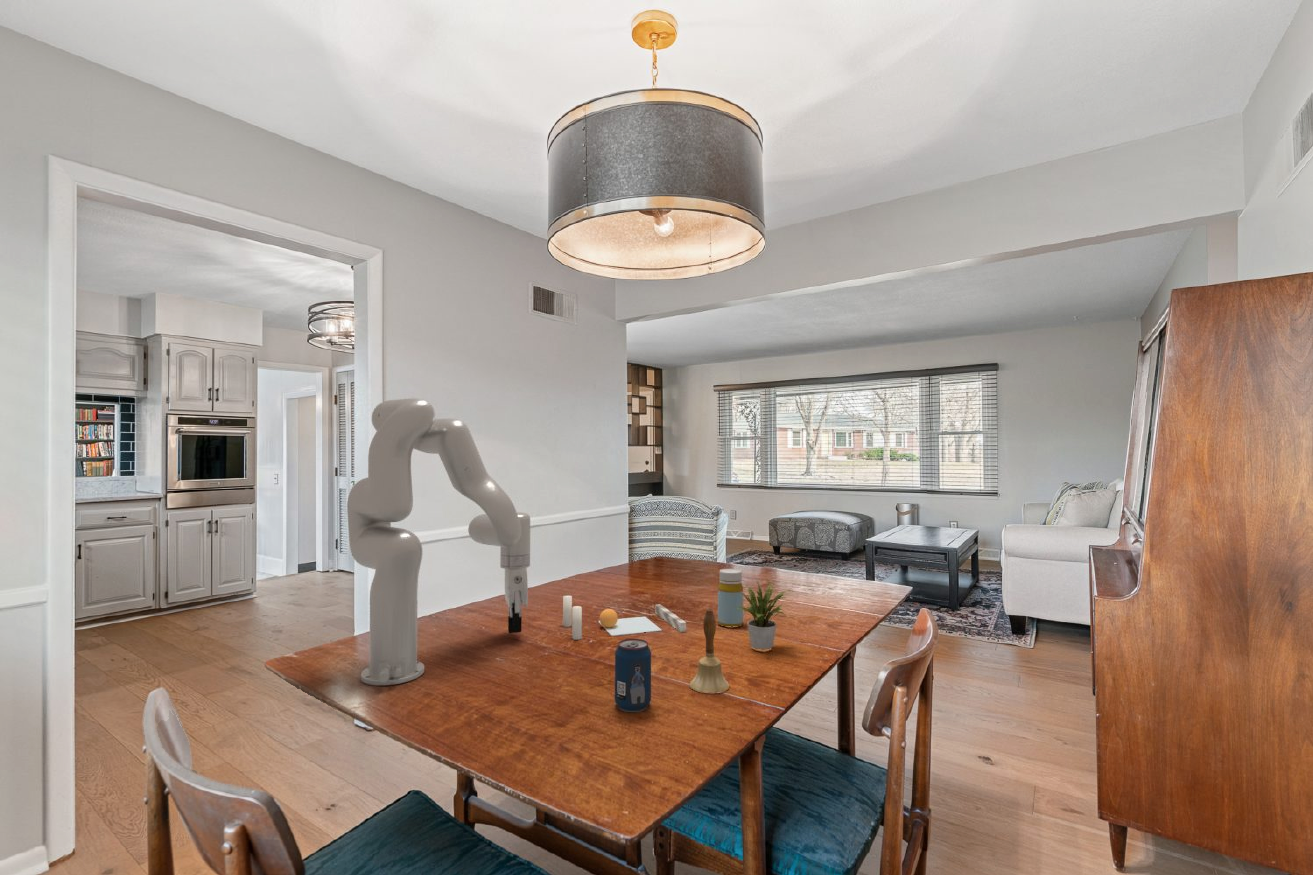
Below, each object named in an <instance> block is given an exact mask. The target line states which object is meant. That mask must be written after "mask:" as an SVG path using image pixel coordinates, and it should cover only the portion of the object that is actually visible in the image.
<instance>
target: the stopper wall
mask: <svg viewBox="0 0 1313 875" xmlns="http://www.w3.org/2000/svg"><path fill="white" fill-rule="evenodd" d="M654 613H655V614H656V616H658V617H659V618H661V619H662V620H663V619H664V620H663V621H665V622H666V623H667V624H669V625H670V626H671V625H672V626H671V627H673V628H674V629H675V628H676V629H675V630H677V631H678V632H679V633H687V622H686V621H684V620H683V619H682V618H681V617H679V616H677V615H676V614H675V613H674V612H673V611H671V610H670V609H668V608H666V607H665V606H663V605H662V604H660V603H658V604H655V605H654Z"/></svg>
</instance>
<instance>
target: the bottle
mask: <svg viewBox="0 0 1313 875" xmlns="http://www.w3.org/2000/svg"><path fill="white" fill-rule="evenodd" d="M742 575H743V572H742V570H740V569H737V568H722V569H719V584H718V586H717V623H718V625H719V626H720V625H723V626H731V627H733V626H740V625H741V626H742V625H744V610H743V609H737V608H738V607H744V595H743V594H742V593H744V586H743V584H742V582H743V580H742V578H743V576H742ZM740 591H741V592H742V593H741V592H740ZM741 626H740V627H741Z"/></svg>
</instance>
